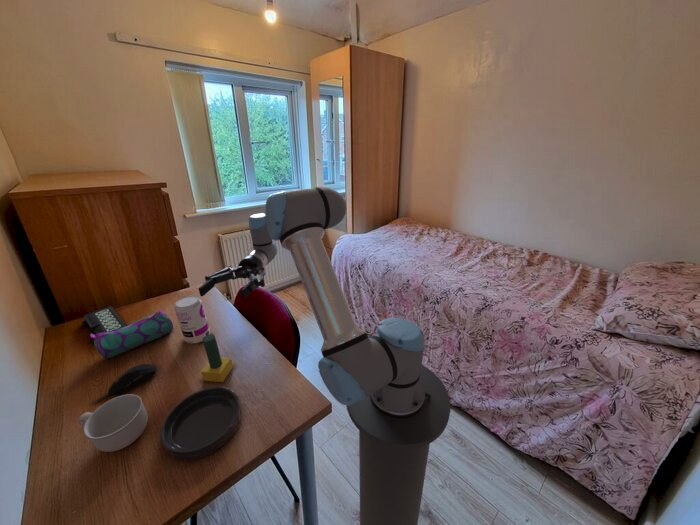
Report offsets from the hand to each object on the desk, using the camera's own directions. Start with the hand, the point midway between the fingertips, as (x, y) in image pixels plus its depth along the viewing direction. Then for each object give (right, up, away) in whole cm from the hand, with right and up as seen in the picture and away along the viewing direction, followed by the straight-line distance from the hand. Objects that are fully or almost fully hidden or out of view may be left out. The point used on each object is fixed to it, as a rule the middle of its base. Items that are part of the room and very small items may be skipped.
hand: (221, 293), depth 85 cm
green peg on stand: (-1, -24, +1) cm, 24 cm away
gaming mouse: (-26, -26, -2) cm, 37 cm away
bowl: (+3, -31, -15) cm, 34 cm away
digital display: (-54, -15, +23) cm, 61 cm away
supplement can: (-16, -17, +16) cm, 29 cm away
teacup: (-17, -32, -17) cm, 40 cm away
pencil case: (-34, -19, +13) cm, 42 cm away
